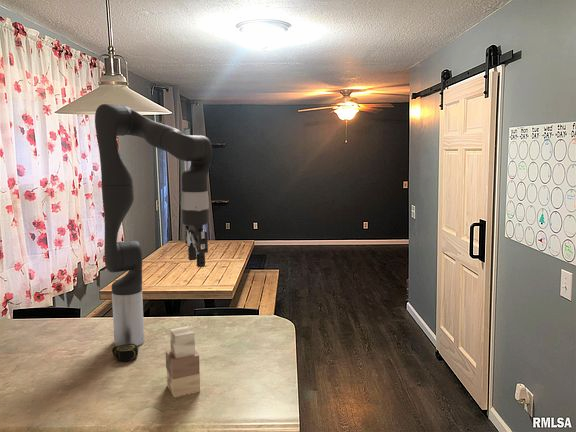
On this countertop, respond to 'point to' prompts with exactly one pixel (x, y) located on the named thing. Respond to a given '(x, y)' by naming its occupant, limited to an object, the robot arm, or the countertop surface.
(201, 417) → the countertop surface
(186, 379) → the tan wooden block
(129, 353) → the tape measure
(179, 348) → the maple block
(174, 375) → the walnut slab
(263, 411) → the countertop surface
